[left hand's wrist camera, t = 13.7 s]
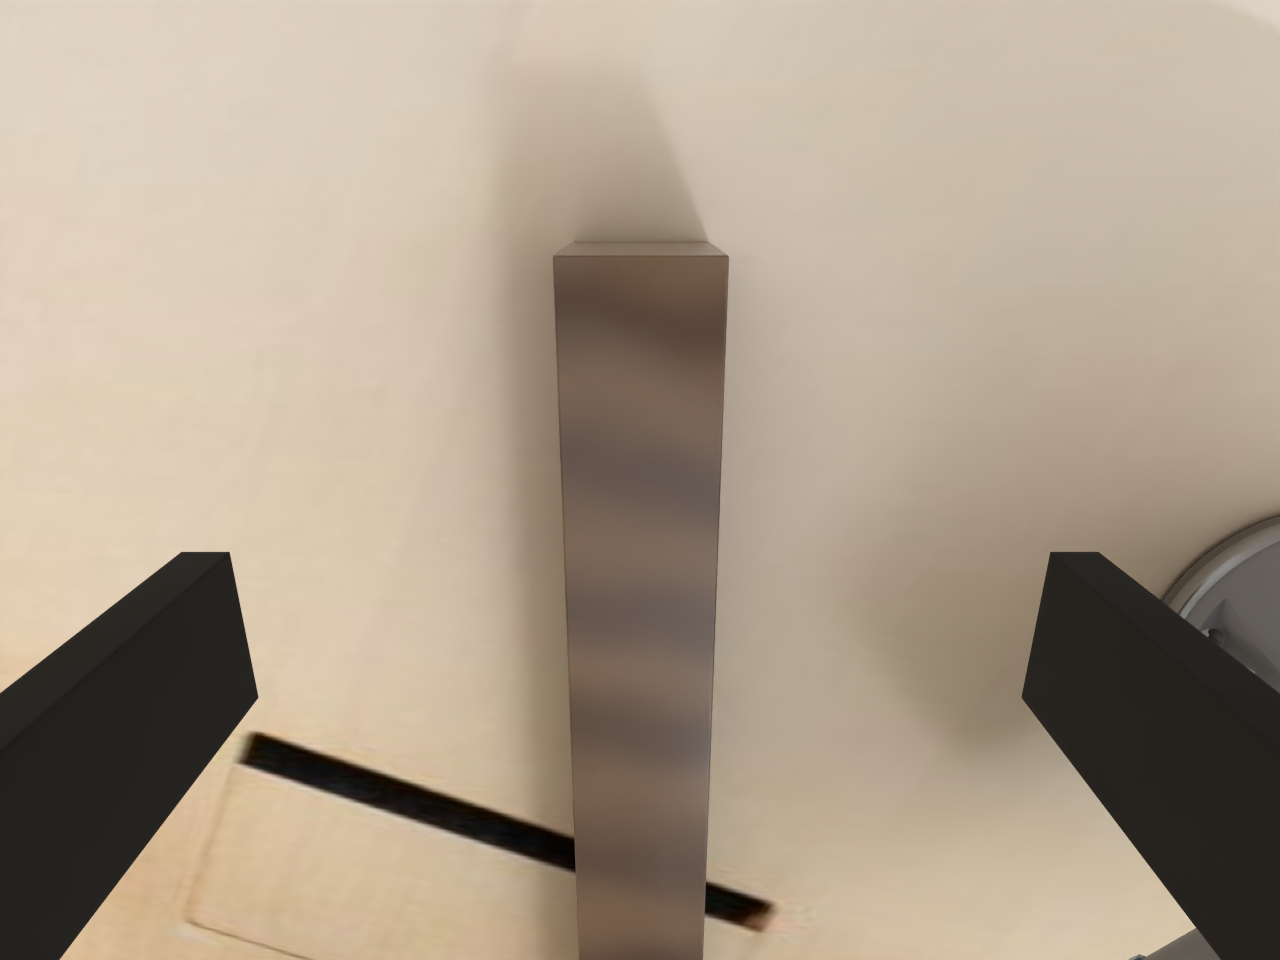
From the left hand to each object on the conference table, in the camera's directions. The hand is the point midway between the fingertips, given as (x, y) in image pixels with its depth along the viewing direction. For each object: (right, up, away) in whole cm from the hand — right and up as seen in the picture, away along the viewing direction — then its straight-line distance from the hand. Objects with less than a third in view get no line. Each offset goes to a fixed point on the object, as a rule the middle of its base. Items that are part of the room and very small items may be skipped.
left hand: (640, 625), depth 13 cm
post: (0, -24, +34) cm, 42 cm away
